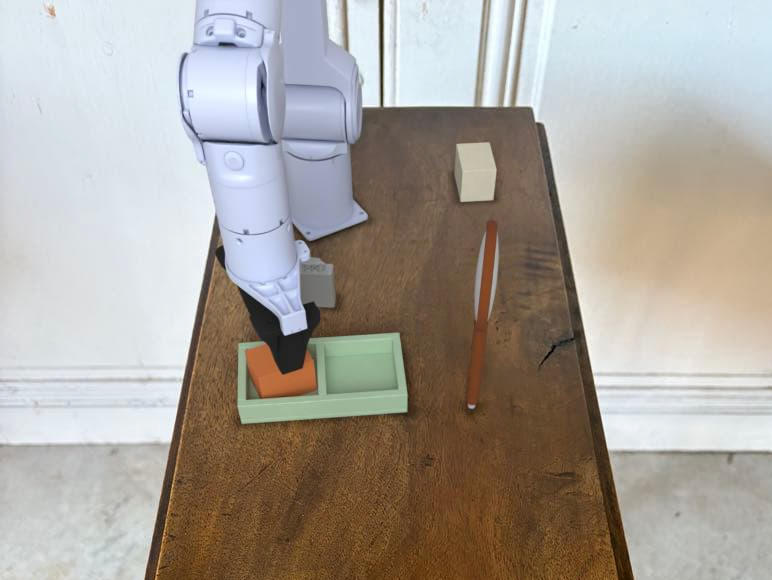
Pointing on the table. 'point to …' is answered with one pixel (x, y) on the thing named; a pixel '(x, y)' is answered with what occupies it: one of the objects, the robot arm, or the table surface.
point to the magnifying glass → (482, 307)
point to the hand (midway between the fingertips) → (276, 341)
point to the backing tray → (334, 381)
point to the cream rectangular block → (475, 172)
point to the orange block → (278, 375)
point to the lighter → (317, 283)
